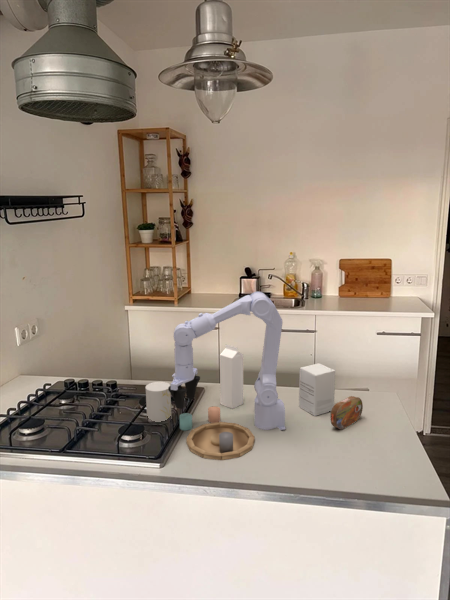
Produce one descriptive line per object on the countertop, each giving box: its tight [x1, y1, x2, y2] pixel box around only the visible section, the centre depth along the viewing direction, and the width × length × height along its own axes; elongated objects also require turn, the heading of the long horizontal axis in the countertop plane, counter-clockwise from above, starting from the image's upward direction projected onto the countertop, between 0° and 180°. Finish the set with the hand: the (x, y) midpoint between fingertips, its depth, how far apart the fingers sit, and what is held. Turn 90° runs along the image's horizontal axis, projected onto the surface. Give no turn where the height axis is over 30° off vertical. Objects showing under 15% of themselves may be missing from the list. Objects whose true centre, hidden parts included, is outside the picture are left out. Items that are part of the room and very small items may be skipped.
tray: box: [185, 421, 256, 461], centre depth 141 cm, size 20×20×2 cm
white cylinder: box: [145, 381, 172, 422], centre depth 156 cm, size 8×8×12 cm
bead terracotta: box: [207, 406, 221, 423], centre depth 154 cm, size 4×4×5 cm
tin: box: [330, 395, 363, 430], centre depth 153 cm, size 15×3×8 cm, turn 131°
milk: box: [219, 344, 244, 410], centre depth 167 cm, size 6×6×22 cm
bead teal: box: [178, 412, 193, 431], centre depth 150 cm, size 4×4×5 cm
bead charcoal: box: [219, 432, 233, 453], centre depth 135 cm, size 4×4×5 cm
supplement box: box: [298, 362, 336, 417], centre depth 163 cm, size 9×9×15 cm
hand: (185, 403), depth 148 cm, fingers open, 7 cm apart
